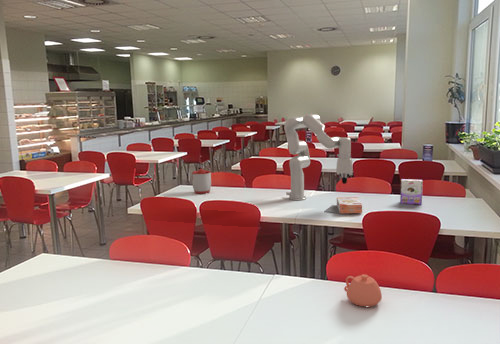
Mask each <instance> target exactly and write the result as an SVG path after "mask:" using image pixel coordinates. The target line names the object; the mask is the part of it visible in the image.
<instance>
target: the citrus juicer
mask: <svg viewBox="0 0 500 344" xmlns="http://www.w3.org/2000/svg"><path fill="white" fill-rule="evenodd" d="M189 180H191V181H192V188H193V191H194V193H195V194H197V195H199V194H200V195H204V194H205V193H207V194H208V193H210V191H211V187H212V171H211V170H206V169H205V170H204V169H203V168H200V169H198V170H195V171H192V172H191V176H190V177H189Z"/></svg>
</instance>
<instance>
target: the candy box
mask: <svg viewBox="0 0 500 344" xmlns="http://www.w3.org/2000/svg"><path fill="white" fill-rule="evenodd" d="M399 203H400V204H402V205H403V204H405V205H418V206H419V205H420V206H421V205H422V203H423V179H413V178H412V179H410V178H408V179H407V178H406V179H405V178H401V179H400V202H399Z"/></svg>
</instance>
